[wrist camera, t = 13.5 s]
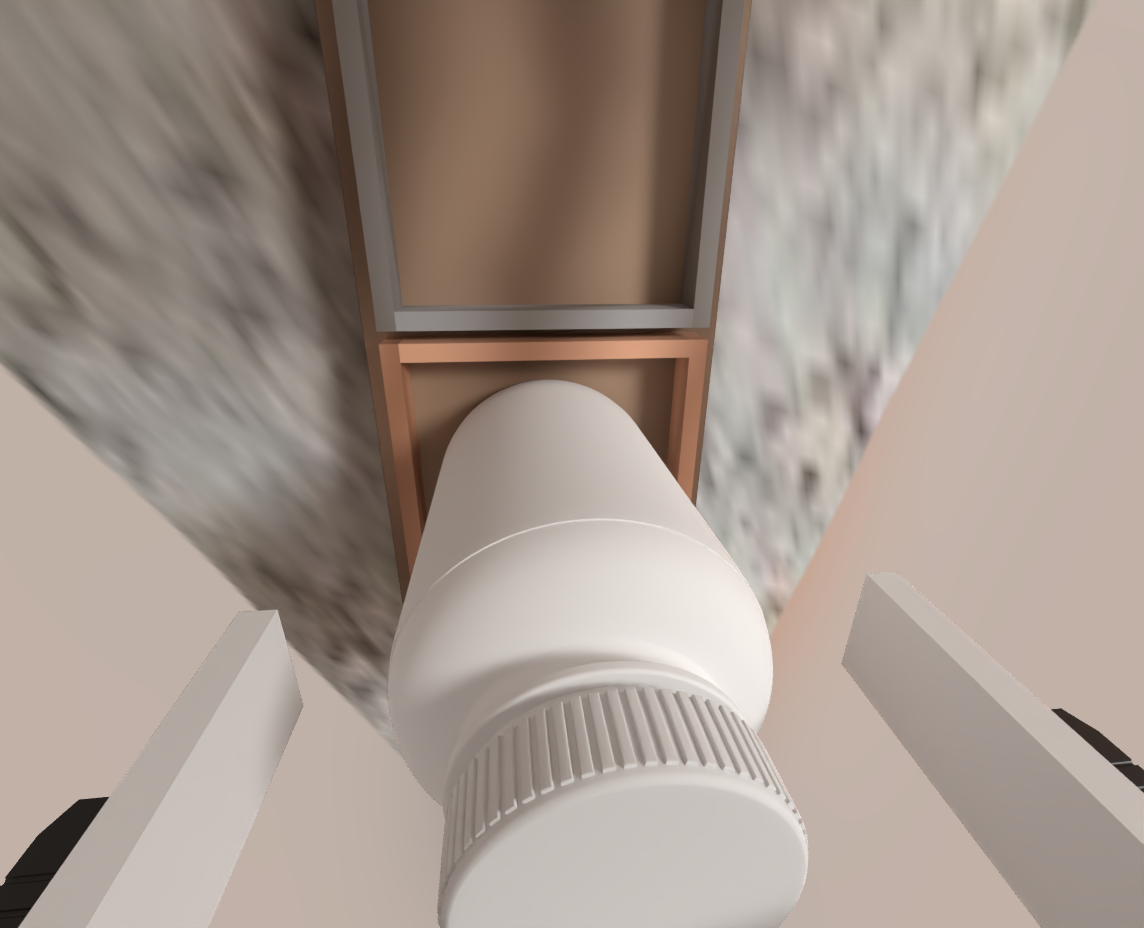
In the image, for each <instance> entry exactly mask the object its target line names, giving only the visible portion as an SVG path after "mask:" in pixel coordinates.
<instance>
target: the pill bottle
mask: <svg viewBox="0 0 1144 928" xmlns="http://www.w3.org/2000/svg"><path fill="white" fill-rule="evenodd" d="M772 680H773V663H772V652H771V645H770V639H769V635H768V631H767V626H766V622H765V618H764V615H763V612H762V609H761V607H760V604H759V602H758V600H757V598H756V596H755V594H754V592H753V590H752V589H751V587H750V585H749V584H748V582H747V580H746V579H745V577H744V576H743V574H742V573H741V571H740V570H739V568H738V567H737V566H736V564H735V563H734V561H733V560H732V558H731V557H730V556H729V554H728V553H727V551H726V550H725V549H724V547H723V546H722V544H721V543H720V542H719V540H718V539H717V537H716V536H715V535H714V533H713V532H712V530H711V529H710V527H709V526H708V525H707V523H706V522H705V520H704V519H703V518H702V516H701V515H700V513H699V512H698V511H697V509H696V508H695V506H694V505H693V504H692V502H691V501H690V499H689V498H688V497H687V495H686V494H685V492H684V491H683V489H682V488H681V487H680V485H679V484H678V482H677V481H676V480H675V478H674V477H673V475H672V474H671V473H670V471H669V470H668V468H667V467H666V466H665V464H664V463H663V461H662V460H661V459H660V457H659V456H658V454H657V453H656V451H655V450H654V449H653V447H652V446H651V444H650V443H649V442H648V440H647V439H646V437H645V436H644V435H643V433H642V432H641V430H640V429H639V428H638V426H637V425H636V423H635V422H634V421H633V419H632V418H631V417H630V416H629V415H628V414H627V413H626V412H625V411H624V410H623V409H622V408H621V407H620V406H618V405H617V404H616V403H615V402H613V401H612V400H611V399H609V398H608V397H606V396H605V395H603V394H601V393H600V392H598V391H596V390H594V389H591V388H589V387H587V386H584V385H581V384H577V383H573V382H568V381H562V380H535V381H529V382H524V383H520V384H517V385H513V386H511V387H508V388H506V389H503V390H501V391H499V392H497V393H495V394H494V395H492V396H490V397H489V398H487V399H486V400H484V401H483V402H482V403H480V404H479V405H478V406H477V407H476V408H475V409H473V410H472V411H471V412H470V413H469V415H468V416H467V417H466V418H465V419H464V420H463V422H462V423H461V424H460V426H459V427H458V429H457V431H456V432H455V434H454V435H453V437H452V439H451V441H450V443H449V445H448V447H447V450H446V453H445V456H444V459H443V463H442V466H441V470H440V474H439V477H438V481H437V485H436V488H435V492H434V496H433V499H432V503H431V506H430V510H429V514H428V517H427V521H426V525H425V528H424V532H423V535H422V539H421V543H420V546H419V550H418V554H417V557H416V561H415V564H414V568H413V572H412V575H411V579H410V583H409V586H408V590H407V594H406V597H405V601H404V604H403V608H402V612H401V615H400V619H399V623H398V626H397V630H396V634H395V637H394V641H393V646H392V650H391V655H390V660H389V667H388V675H387V695H388V703H389V710H390V717H391V722H392V727H393V731H394V735H395V738H396V741H397V744H398V747H399V749H400V752H401V754H402V756H403V759H404V761H405V763H406V764H407V766H408V768H409V770H410V771H411V773H412V774H413V776H414V777H415V779H416V780H417V781H418V783H419V784H420V785H421V786H422V788H424V790H425V791H426V792H427V793H428V794H429V795H430V796H431V797H432V798H433V799H434V800H435V801H436V802H437V803H438V804H439V805H441V806H442V807H443V812H444V816H445V827H444V838H443V848H442V859H441V871H440V882H439V893H438V894H439V895H438V923H439V926H440V928H779V927H780V926H781V925H782V923H783V922H784V921H785V920H786V918H787V917H788V916H789V914H790V913H791V911H792V910H793V908H794V906H795V904H796V903H797V901H798V899H799V897H800V894H801V892H802V889H803V886H804V883H805V880H806V875H807V869H808V842H807V840H808V837H807V833H806V830H805V825H804V823H803V820H802V818H801V816H800V814H799V812H798V810H797V808H796V806H795V804H794V802H793V800H792V798H791V796H790V795H789V792H788V791H787V789H786V787H785V785H784V783H783V781H782V779H781V777H780V775H779V773H778V772H777V770H776V768H775V766H774V764H773V762H772V760H771V758H770V757H769V755H768V753H767V751H766V749H765V747H764V745H763V744H762V742H761V740H760V739H759V738H758V734H759V731H760V729H761V727H762V724H763V722H764V719H765V716H766V713H767V710H768V706H769V702H770V697H771V690H772Z"/></svg>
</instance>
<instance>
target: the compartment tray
mask: <svg viewBox="0 0 1144 928" xmlns="http://www.w3.org/2000/svg"><path fill="white" fill-rule="evenodd" d="M751 4H752V0H315V6H316V13H317V20H318V27H319V34H320V41H321V47H322V54H323V61H324V68H325V75H326V82H327V89H328V95H329V102H330V109H331V116H332V123H333V130H334V136H335V143H336V150H337V157H338V164H339V171H340V178H341V184H342V191H343V198H344V205H345V212H346V219H347V226H348V232H349V239H350V246H351V253H352V260H353V267H354V273H355V280H356V287H357V294H358V301H359V308H360V315H361V321H362V328H363V335H364V342H365V349H366V356H367V363H368V369H369V376H370V383H371V390H372V397H373V404H374V410H375V417H376V424H377V431H378V438H379V445H380V452H381V458H382V465H383V472H384V479H385V486H386V493H387V499H388V506H389V513H390V520H391V527H392V534H393V541H394V547H395V554H396V561H397V568H398V575H399V582H400V589H401V595H402V602H403V604H404V601H405V597H406V594H407V590H408V586H409V583H410V579H411V575H412V572H413V568H414V564H415V561H416V557H417V554H418V550H419V546H420V543H421V539H422V535H423V532H424V528H425V525H426V521H427V517H428V514H429V510H430V506H431V503H432V499H433V496H434V492H435V488H436V485H437V481H438V477H439V474H440V470H441V466H442V463H443V459H444V456H445V453H446V450H447V447H448V445H449V443H450V441H451V439H452V437H453V435H454V434H455V432H456V431H457V429H458V427H459V426H460V424H461V423H462V422H463V420H464V419H465V418H466V417H467V416H468V415H469V413H470V412H471V411H472V410H473V409H475V408H476V407H477V406H478V405H479V404H480V403H482V402H483V401H484V400H486V399H487V398H489V397H490V396H492V395H494V394H495V393H497V392H499V391H501V390H503V389H506V388H508V387H511V386H513V385H517V384H520V383H524V382H529V381H535V380H562V381H568V382H573V383H577V384H581V385H584V386H587V387H589V388H591V389H594V390H596V391H598V392H600V393H601V394H603V395H605V396H606V397H608V398H609V399H611V400H612V401H613V402H615V403H616V404H617V405H618V406H620V407H621V408H622V409H623V410H624V411H625V412H626V413H627V414H628V415H629V416H630V417H631V418H632V419H633V421H634V422H635V423H636V425H637V426H638V428H639V429H640V430H641V432H642V433H643V435H644V436H645V437H646V439H647V440H648V442H649V443H650V444H651V446H652V447H653V449H654V450H655V451H656V453H657V454H658V456H659V457H660V459H661V460H662V461H663V463H664V464H665V466H666V467H667V468H668V470H669V471H670V473H671V474H672V475H673V477H674V478H675V480H676V481H677V482H678V484H679V485H680V487H681V488H682V489H683V491H684V492H685V494H686V495H687V497H688V498H689V499H690V501H691V502H692V504H693V505H694V506H695V508H696V499H697V490H698V481H699V472H700V463H701V454H702V445H703V436H704V427H705V418H706V409H707V400H708V391H709V382H710V373H711V364H712V355H713V346H714V337H715V328H716V319H717V310H718V301H719V292H720V283H721V274H722V265H723V256H724V247H725V238H726V229H727V220H728V211H729V202H730V193H731V184H732V175H733V166H734V157H735V148H736V139H737V130H738V121H739V112H740V103H741V94H742V85H743V76H744V67H745V58H746V49H747V40H748V31H749V22H750V13H751Z"/></svg>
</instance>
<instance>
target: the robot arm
mask: <svg viewBox="0 0 1144 928" xmlns="http://www.w3.org/2000/svg"><path fill="white" fill-rule="evenodd" d="M841 664H842V665H843V666H844V668H845V669H846V670H847V672H848V673H849V674H850V676H851V677H852V678H853V680H854V681H855V682H856V684H857V685H858V686H859V688H860V689H861V690H862V691H863V693H864V694H865V696H866V697H867V698H868V699H869V701H870V702H871V703H872V705H873V706H874V707H875V709H876V710H877V711H878V712H879V714H880V715H881V717H882V718H883V719H884V721H885V722H886V723H887V724H888V726H889V727H890V728H891V730H892V731H893V733H894V734H895V735H896V736H897V738H898V739H899V740H900V742H901V743H902V744H903V746H904V747H905V748H906V750H907V751H908V752H909V754H910V755H911V756H912V757H913V759H914V760H915V761H916V763H917V764H918V766H919V767H920V768H921V769H922V771H923V772H924V773H925V775H926V776H927V777H928V779H929V780H930V781H931V782H932V784H933V785H934V787H935V788H936V789H937V791H938V792H939V793H940V795H941V796H942V797H943V799H944V800H945V801H946V803H947V804H948V805H949V806H950V808H951V809H952V810H953V812H954V813H955V814H956V816H957V817H958V818H959V820H960V821H961V822H962V824H963V825H964V826H965V827H966V829H967V830H968V832H969V833H970V834H971V835H972V837H973V838H974V840H975V841H976V842H977V843H978V845H979V846H980V847H981V849H982V850H983V851H984V853H985V854H986V855H987V857H988V858H989V859H990V860H991V862H992V863H993V864H994V866H995V867H996V869H997V870H998V871H999V873H1000V874H1001V875H1002V876H1003V878H1004V879H1005V880H1006V882H1007V883H1008V884H1009V886H1010V887H1011V888H1012V890H1013V891H1014V892H1015V894H1016V895H1017V896H1018V898H1019V899H1020V900H1021V902H1022V903H1023V904H1024V906H1025V907H1026V908H1027V909H1028V911H1029V912H1030V913H1031V915H1032V916H1033V917H1034V919H1035V920H1036V921H1037V923H1038V924H1039V925H1040V927H1041V928H1144V770H1143V769H1142V768H1141V767H1139V766H1138V765H1133V763H1132V762H1131V759H1130V758H1129V757H1128V756H1127V755H1126V754H1124V753H1123V752H1122V751H1121V750H1120V749H1119V748H1117V747H1116V746H1115V745H1114V744H1113V743H1112V742H1110V741H1109V740H1108V739H1107V738H1106V737H1105V736H1103V735H1102V734H1101V733H1100V732H1099V731H1097V730H1096V729H1094V728H1092V727H1091V726H1089V725H1087V724H1085V723H1084V722H1082V721H1080V720H1079V719H1077V718H1076V717H1074V716H1072V715H1071V714H1069V713H1067V712H1066V711H1064V710H1063V709H1049V708H1048V707H1047V706H1046V705H1045V704H1044V703H1043V702H1042V701H1040V700H1039V699H1038V698H1037V697H1036V696H1035V695H1034V694H1033V693H1032V692H1030V691H1029V690H1028V689H1027V688H1026V687H1025V686H1024V685H1023V684H1021V683H1020V682H1019V681H1018V680H1017V679H1016V678H1015V677H1014V676H1013V675H1011V674H1010V673H1009V672H1008V671H1007V670H1006V669H1005V668H1004V667H1003V666H1001V665H1000V664H999V663H998V662H997V661H996V660H994V658H992V657H991V656H990V655H989V654H988V653H987V652H986V651H985V650H983V649H982V648H981V647H980V646H979V645H978V644H977V643H976V642H975V641H973V640H972V639H971V638H970V637H969V636H968V635H967V634H966V633H964V632H963V631H962V630H961V629H960V628H959V627H958V626H957V625H956V624H954V623H953V622H952V621H951V620H950V619H949V618H948V617H947V616H946V615H944V614H943V613H942V612H941V611H940V610H939V609H938V608H937V607H936V606H934V605H933V604H932V603H931V602H930V601H929V600H928V599H926V598H925V597H924V596H923V595H922V594H921V593H920V592H919V591H918V590H916V589H915V588H914V587H913V586H912V585H911V584H910V583H909V582H907V581H906V580H905V579H904V578H903V577H902V576H901V575H900V574H899V573H897V572H889V573H873V574H866V578H865V581H864V584H863V588H862V592H861V596H860V599H859V603H858V606H857V610H856V613H855V617H854V620H853V624H852V628H851V632H850V635H849V639H848V642H847V645H846V649H845V653H844V656H843V660H842V663H841ZM302 708H303V703H302V699H301V695H300V691H299V688H298V684H297V680H296V677H295V673H294V669H293V666H292V662H291V658H290V654H289V650H288V647H287V643H286V639H285V636H284V632H283V628H282V624H281V621H280V617H279V613H278V610H261V611H245V612H239V613H238V614H237V615H236V617H235V618H234V619H233V621H232V622H231V624H230V625H229V627H228V628H227V629H226V631H225V633H224V634H223V635H222V637H221V638H220V640H219V641H218V643H217V644H216V645H215V647H214V648H213V650H212V651H211V652H210V654H209V655H208V657H207V658H206V660H205V661H204V663H203V664H202V665H201V667H200V668H199V670H198V671H197V673H196V674H195V675H194V677H193V678H192V680H191V681H190V683H189V684H188V685H187V687H186V688H185V690H184V691H183V693H182V694H181V695H180V697H179V698H178V700H177V701H176V703H175V704H174V705H173V707H172V708H171V710H170V711H169V713H168V714H167V715H166V717H165V718H164V720H163V721H162V723H161V724H160V726H159V727H158V728H157V730H156V731H155V733H154V734H153V735H152V737H151V738H150V740H149V741H148V743H147V744H146V745H145V747H144V748H143V750H142V751H141V753H140V754H139V756H138V757H137V758H136V760H135V761H134V763H133V764H132V766H131V767H130V769H129V770H128V771H127V773H126V774H125V776H124V777H123V778H122V780H121V782H120V783H119V784H118V786H117V787H116V788H115V790H114V791H113V793H112V794H111V796H110V797H102V798H92V799H80V800H78V801H77V802H76V803H75V804H73V805H72V806H71V807H70V808H69V809H68V810H67V811H65V812H64V813H63V814H62V815H61V816H60V817H59V818H57V819H56V820H55V821H54V822H53V823H52V824H50V825H49V826H48V827H47V828H46V829H45V830H44V831H42V832H41V833H40V834H39V835H38V836H37V837H36V838H35V840H34V841H33V843H32V844H31V845H30V846H29V848H28V849H27V850H26V851H25V853H24V854H23V855H22V857H21V858H20V859H19V860H18V862H17V863H16V865H15V866H14V867H13V868H12V870H11V871H10V872H9V873H8V875H7V876H6V880H5V883H4V884H3V885H2V886H0V928H208V927H209V925H210V923H211V920H212V918H213V915H214V913H215V911H216V909H217V906H218V904H219V902H220V899H221V897H222V894H223V892H224V890H225V888H226V885H227V883H228V880H229V878H230V876H231V874H232V871H233V869H234V867H235V864H236V862H237V859H238V857H239V855H240V852H241V850H242V848H243V845H244V843H245V841H246V838H247V836H248V834H249V831H250V829H251V827H252V824H253V822H254V820H255V817H256V815H257V813H258V810H259V808H260V806H261V803H262V801H263V798H264V796H265V794H266V792H267V789H268V787H269V785H270V782H271V780H272V778H273V775H274V773H275V771H276V768H277V766H278V764H279V761H280V759H281V756H282V754H283V752H284V749H285V747H286V745H287V743H288V740H289V738H290V735H291V733H292V731H293V729H294V726H295V724H296V721H297V719H298V717H299V715H300V712H301V710H302Z"/></svg>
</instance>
